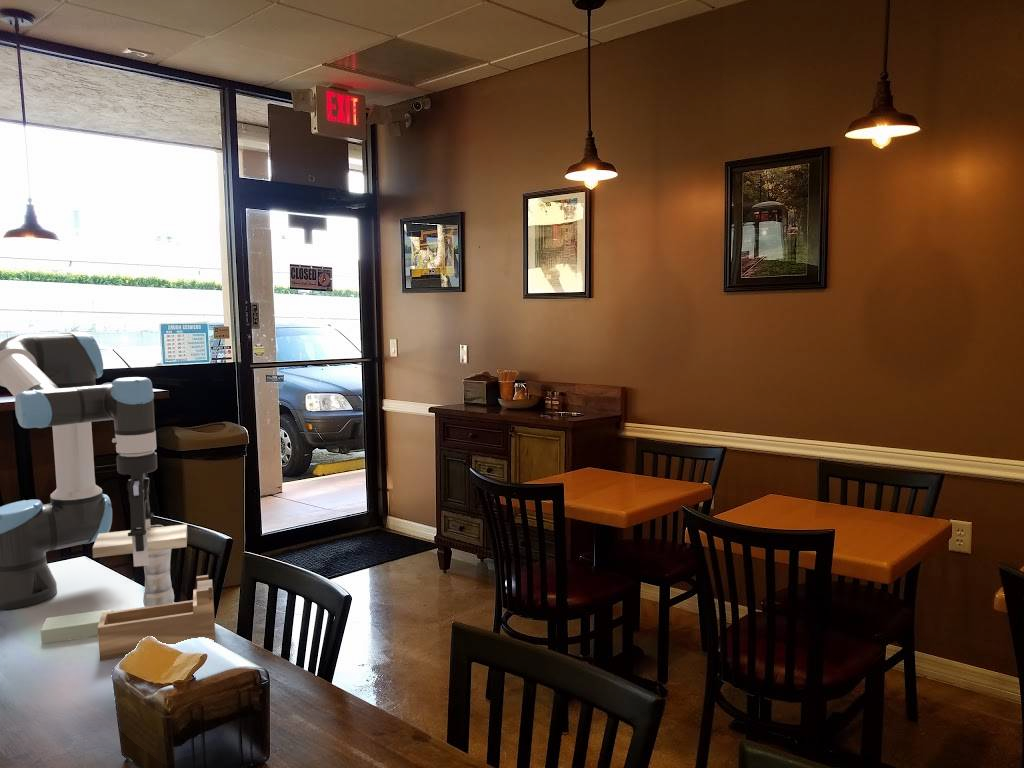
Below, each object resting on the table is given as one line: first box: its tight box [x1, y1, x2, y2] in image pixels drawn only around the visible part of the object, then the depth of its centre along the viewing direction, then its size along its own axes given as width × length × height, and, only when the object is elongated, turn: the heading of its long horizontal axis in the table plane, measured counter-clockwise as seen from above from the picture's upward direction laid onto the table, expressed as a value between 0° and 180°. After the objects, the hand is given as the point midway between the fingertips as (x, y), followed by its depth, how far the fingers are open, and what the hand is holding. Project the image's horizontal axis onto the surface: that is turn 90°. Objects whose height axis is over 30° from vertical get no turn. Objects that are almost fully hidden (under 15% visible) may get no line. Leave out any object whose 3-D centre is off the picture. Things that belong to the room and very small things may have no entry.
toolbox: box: [97, 574, 216, 661], centre depth 165 cm, size 10×22×12 cm, turn 112°
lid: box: [92, 523, 188, 559], centre depth 163 cm, size 10×17×2 cm, turn 112°
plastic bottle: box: [142, 524, 175, 607], centre depth 183 cm, size 6×7×20 cm
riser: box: [40, 608, 113, 645], centre depth 172 cm, size 7×13×3 cm, turn 112°
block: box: [196, 578, 214, 599], centre depth 168 cm, size 5×3×2 cm, turn 22°
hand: (143, 557), depth 163 cm, fingers closed on lid, 10 cm apart
